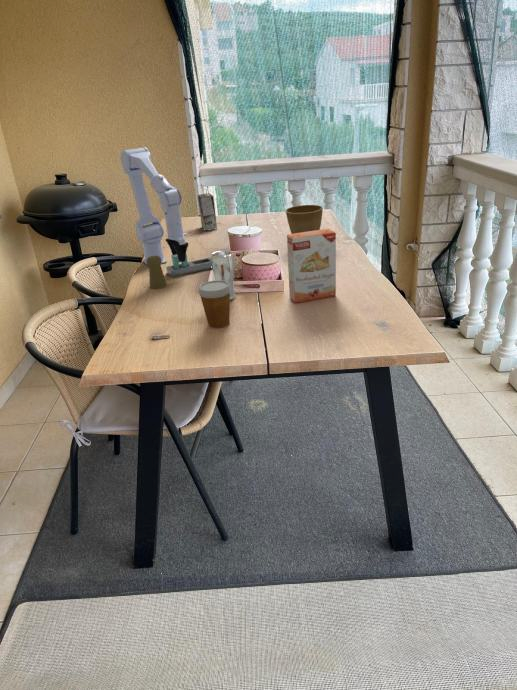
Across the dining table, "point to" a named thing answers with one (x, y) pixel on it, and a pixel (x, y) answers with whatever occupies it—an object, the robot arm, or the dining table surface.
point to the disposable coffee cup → (216, 302)
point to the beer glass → (224, 268)
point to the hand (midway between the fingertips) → (179, 259)
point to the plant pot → (304, 218)
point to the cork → (156, 272)
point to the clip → (176, 262)
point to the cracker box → (312, 265)
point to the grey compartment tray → (190, 267)
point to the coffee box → (207, 211)
